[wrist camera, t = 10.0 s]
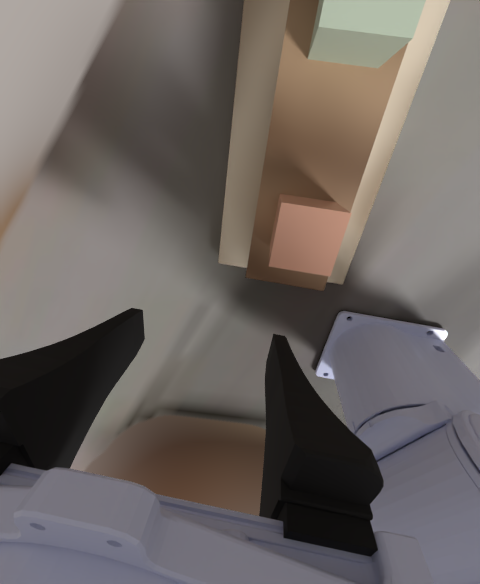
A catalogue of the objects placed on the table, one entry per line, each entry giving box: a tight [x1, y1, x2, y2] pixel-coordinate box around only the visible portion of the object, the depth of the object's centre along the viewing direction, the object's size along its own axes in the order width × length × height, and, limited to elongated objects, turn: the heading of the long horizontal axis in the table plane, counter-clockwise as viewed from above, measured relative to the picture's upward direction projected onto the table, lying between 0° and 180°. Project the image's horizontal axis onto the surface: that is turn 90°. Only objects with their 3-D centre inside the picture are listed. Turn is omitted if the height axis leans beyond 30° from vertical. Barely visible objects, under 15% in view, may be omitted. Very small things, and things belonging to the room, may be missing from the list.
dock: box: [218, 0, 450, 285], centre depth 16 cm, size 10×18×2 cm, turn 172°
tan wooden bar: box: [245, 0, 408, 291], centre depth 14 cm, size 16×5×4 cm, turn 172°
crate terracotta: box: [269, 194, 352, 276], centre depth 13 cm, size 3×3×3 cm
